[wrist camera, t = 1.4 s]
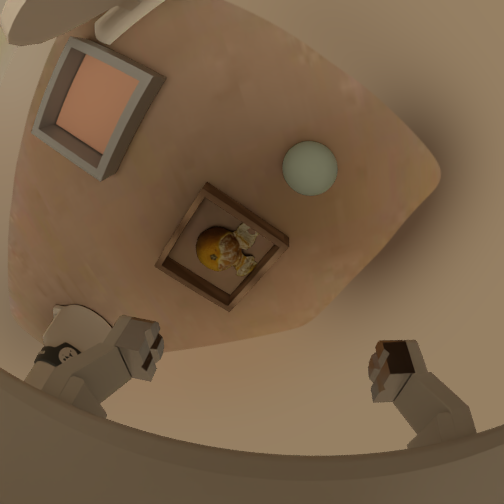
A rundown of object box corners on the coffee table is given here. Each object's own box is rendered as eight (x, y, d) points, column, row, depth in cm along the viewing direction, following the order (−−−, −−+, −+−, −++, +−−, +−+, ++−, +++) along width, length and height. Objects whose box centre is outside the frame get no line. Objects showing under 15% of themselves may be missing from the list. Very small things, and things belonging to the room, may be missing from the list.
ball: (311, 195, 35) (317, 214, 30) (271, 166, 34) (270, 180, 28) (342, 159, 32) (354, 171, 27) (302, 127, 31) (307, 133, 26)
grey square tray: (115, 172, 35) (100, 181, 32) (48, 127, 32) (31, 132, 29) (166, 77, 29) (153, 76, 25) (87, 39, 26) (70, 36, 22)
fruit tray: (231, 301, 44) (229, 312, 42) (160, 256, 41) (154, 266, 39) (288, 237, 38) (289, 246, 36) (207, 181, 35) (202, 187, 33)
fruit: (256, 274, 42) (253, 289, 38) (198, 267, 42) (192, 281, 39) (261, 220, 37) (260, 233, 34) (198, 213, 38) (190, 225, 35)
